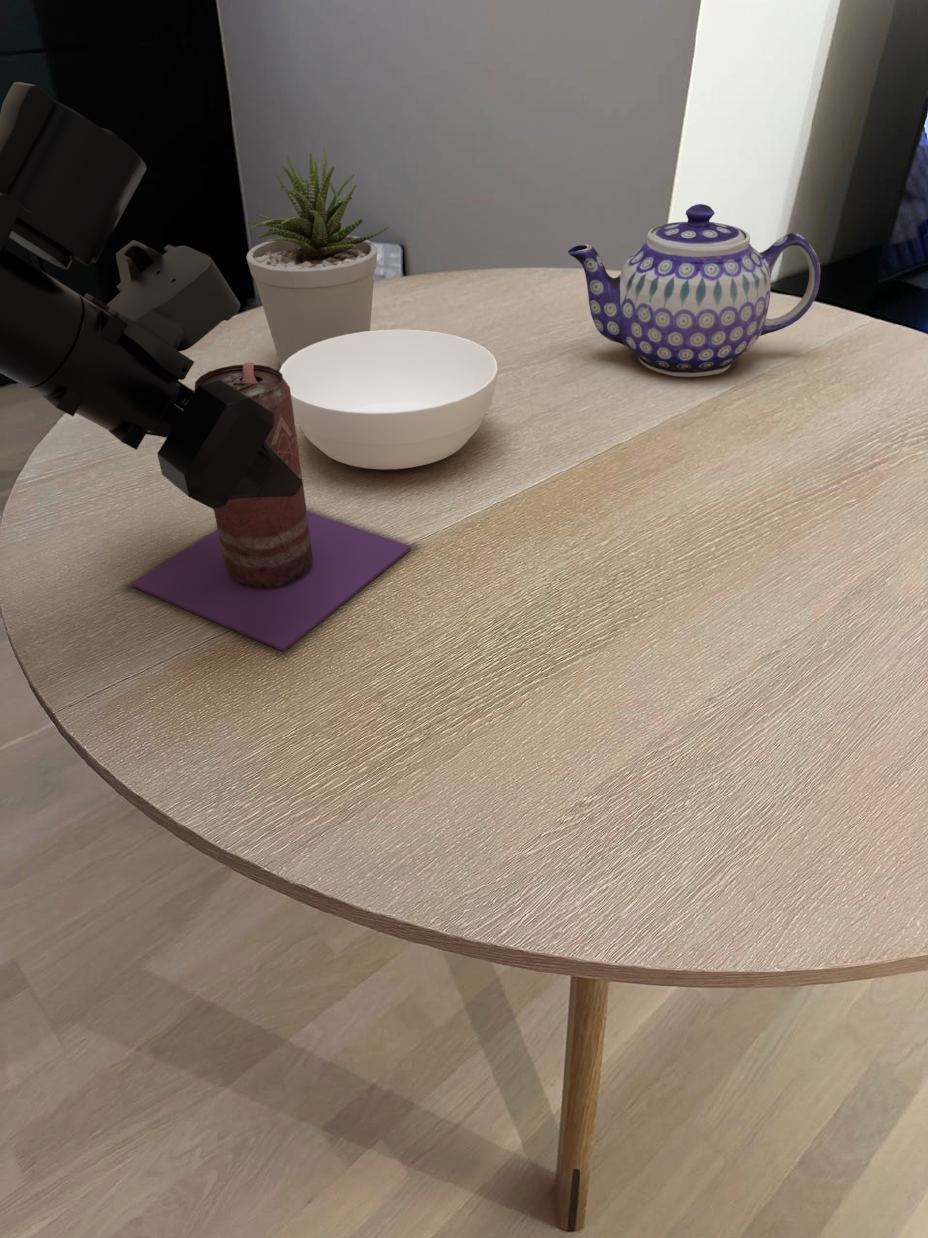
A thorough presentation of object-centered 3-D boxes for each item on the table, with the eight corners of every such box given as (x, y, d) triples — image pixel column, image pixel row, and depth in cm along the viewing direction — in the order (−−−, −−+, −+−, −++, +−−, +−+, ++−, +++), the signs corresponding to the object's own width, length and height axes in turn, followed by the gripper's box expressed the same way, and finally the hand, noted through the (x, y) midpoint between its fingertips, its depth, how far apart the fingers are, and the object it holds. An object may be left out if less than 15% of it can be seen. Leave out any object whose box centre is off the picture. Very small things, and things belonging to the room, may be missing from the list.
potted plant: (417, 368, 96) (407, 155, 84) (296, 400, 90) (266, 175, 78) (358, 333, 104) (341, 135, 92) (244, 361, 98) (210, 153, 86)
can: (312, 538, 69) (287, 355, 61) (314, 586, 64) (288, 394, 56) (229, 546, 68) (193, 362, 60) (225, 595, 63) (184, 402, 55)
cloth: (132, 586, 65) (131, 583, 65) (268, 501, 74) (267, 497, 74) (283, 652, 59) (283, 648, 59) (411, 549, 68) (410, 546, 68)
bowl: (260, 430, 85) (248, 353, 80) (438, 389, 92) (435, 315, 87) (337, 519, 72) (327, 433, 67) (537, 463, 79) (540, 381, 74)
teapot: (788, 332, 102) (817, 185, 93) (823, 388, 90) (861, 225, 81) (559, 332, 104) (566, 187, 95) (564, 386, 91) (572, 226, 82)
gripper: (209, 243, 43) (410, 402, 55) (63, 179, 55) (255, 322, 67) (87, 447, 44) (312, 560, 56) (-32, 342, 56) (176, 454, 68)
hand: (262, 463), depth 62 cm, fingers open, 9 cm apart
